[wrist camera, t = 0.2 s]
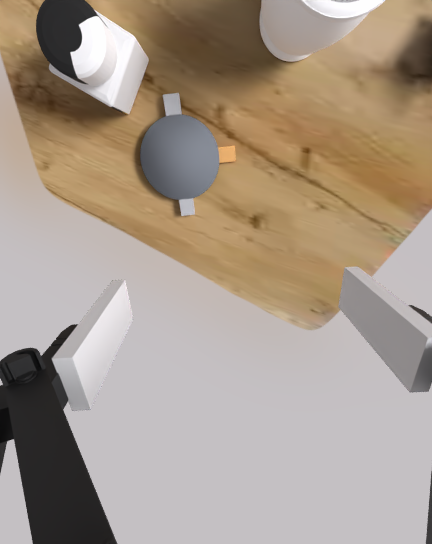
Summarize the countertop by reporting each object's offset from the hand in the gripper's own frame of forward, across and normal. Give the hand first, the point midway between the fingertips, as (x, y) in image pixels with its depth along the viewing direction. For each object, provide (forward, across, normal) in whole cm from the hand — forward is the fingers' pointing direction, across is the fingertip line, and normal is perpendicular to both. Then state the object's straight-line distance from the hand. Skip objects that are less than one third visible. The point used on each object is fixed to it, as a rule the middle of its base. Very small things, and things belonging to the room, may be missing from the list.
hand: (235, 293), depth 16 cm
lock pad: (+27, -4, +7) cm, 29 cm away
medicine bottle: (+28, -13, +18) cm, 35 cm away
